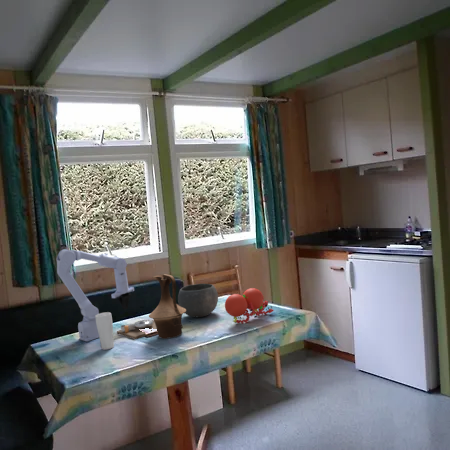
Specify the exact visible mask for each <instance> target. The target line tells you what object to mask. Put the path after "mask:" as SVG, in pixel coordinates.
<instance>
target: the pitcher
mask: <svg viewBox="0 0 450 450" xmlns="http://www.w3.org/2000/svg"><path fill="white" fill-rule="evenodd" d="M152 278H153V279H156V280H157V281H158V282H159V285H160V292H161V293H160V295H161V296H160V300H159V303H158V305H157V306H156V308H155V309H153V311H152V312H150V313H149V315H148V318H150V319H151V320H154V322H155V324H156V328H157V331H158V332H157V337H158V338H159V339H171V338H177V337H179V336H181V335H182V334H183V331H182V330H183V329H182V328H183V327H182V323H183V322H182V319H183V314H185V312H186V309H185V308H183V307H181V306H179V304H178V303H177V297H176V296H177V282H176V279H175V277H174V276H173V275H171V274H167V273H163V274H159V275H155V276H152ZM171 284H172V285H171ZM170 285H171V288H172V290H171V291H172V297H171V293H170Z"/></svg>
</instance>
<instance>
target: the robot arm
mask: <svg viewBox="0 0 450 450" xmlns="http://www.w3.org/2000/svg"><path fill="white" fill-rule="evenodd" d="M79 260H85V261H92V262H96V263H97V264H98V265H99V266H100V267H106V268H110V269H113V273H114V279H115V287H116V290H115V292H114V293H111V299H117V300H118V301H119V303H120V306H121V308H122V310H127V309H129V301H130V298H131V296H132V294H131V292H132V293H133V292H134V291H135V287H134V286H130V287H129V281H128V275H127V273H128V272H127V266H128V262H127V261H126V259H125V258H122V257H118V256H117V255H114V256H113V255H111V254H110V255H109V253H107V252H105V253H101V254H99V255H97V254H93V253H89V252H86V251H82V250H74V249H66V248H64V249H62V250H61V249H60V251H59V252H58V254H57V256H56V273H57V275H58V277H59V278H60V280H61V281H62V283H63V284H64V286H65V287H66V288H67V290H68V291H69V293H70V294H71V295H72V297H73V299H74V300H75V301H76V303H77V304H78V307H79V308H80V314H81V315H82V316H83V318H82V321H80V322H78V325H77V329H78V335H79V337H78V338H79V340H81V341H84V342H89V341H93V340H96V339H98V338H99V334H98V329H97V325H96V317H95V316H96V315H97V314H100V311H99V310H100V309H99V308H98V307H96V306H94V305H93V303H92V302H91V301H90V300H89V298H88V297H87V296H86V294H85V293H84V291H83V290H82V289H81V287H80V285H79V284H78V283H77V281H76V279H75V278H74V277H73V275H72V274H71V268H72V266H73V264H74V263H75V261H76V262H77V261H79ZM99 339H100V338H99Z"/></svg>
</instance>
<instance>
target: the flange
mask: <svg viewBox="0 0 450 450" xmlns="http://www.w3.org/2000/svg"><path fill="white" fill-rule="evenodd" d="M152 320H153V319H142V320H138V321H136V322H134V323H129V324H123V325H120V330H121V331H125V328H124V326H128V329H129V330H132V329H135V328H137V329H140V328H147V327H150V326H152V325H153V321H152Z"/></svg>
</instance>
